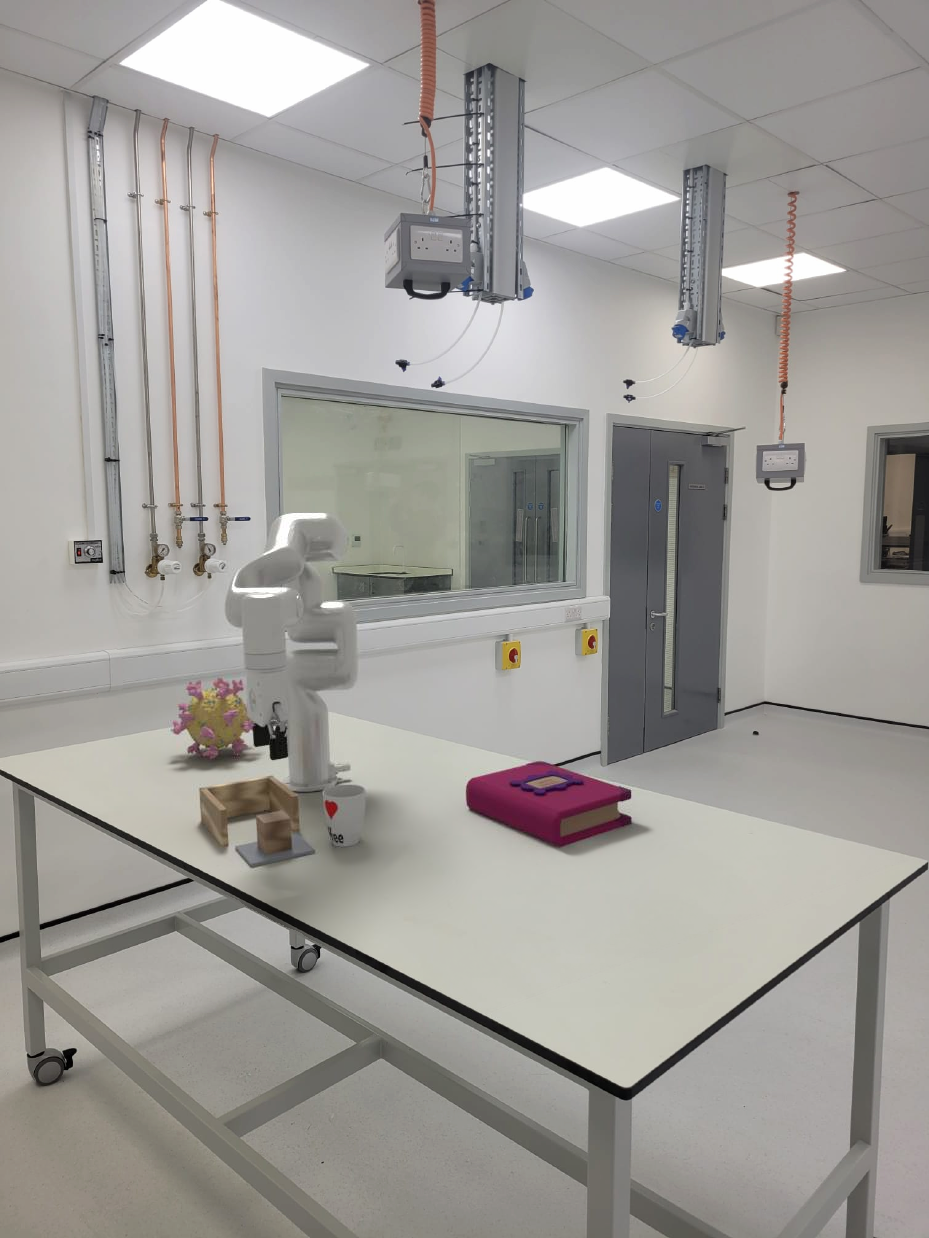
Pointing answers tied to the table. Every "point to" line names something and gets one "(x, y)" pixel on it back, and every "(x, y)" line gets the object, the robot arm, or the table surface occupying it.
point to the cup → (344, 813)
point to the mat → (257, 857)
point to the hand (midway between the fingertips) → (270, 751)
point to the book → (549, 802)
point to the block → (274, 832)
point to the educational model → (214, 718)
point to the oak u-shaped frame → (245, 803)
